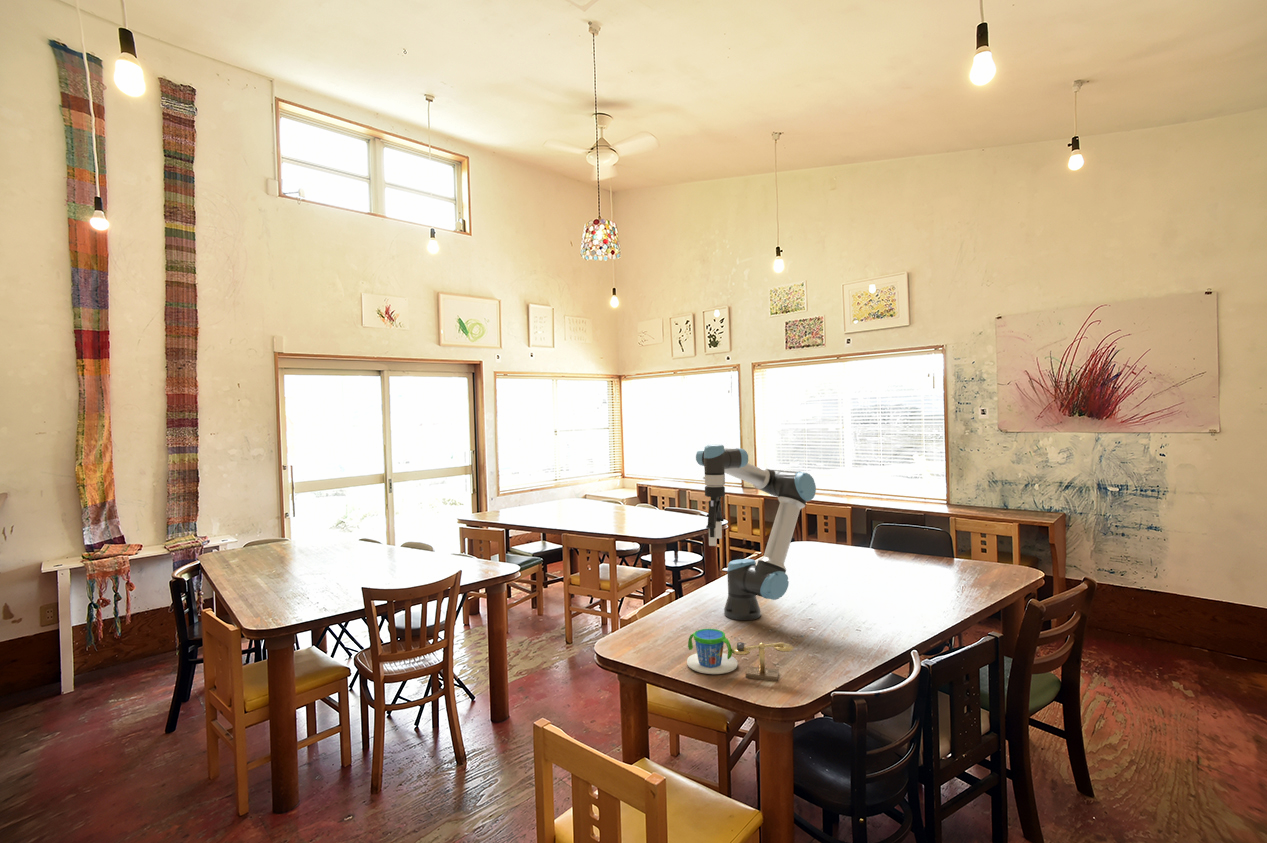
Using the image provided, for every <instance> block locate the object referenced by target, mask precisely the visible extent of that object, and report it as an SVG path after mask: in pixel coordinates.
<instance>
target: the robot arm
mask: <svg viewBox="0 0 1267 843" xmlns="http://www.w3.org/2000/svg"><path fill="white" fill-rule="evenodd" d="M695 461H696V463H697V464H698V465H700V466H702V467H704V476H703V477H702V479H703V480H704V485H705V487H704V496H705V497H708V498H710V500H709V501H708V513H707V525H706V529H708V546H709V547H717V539H720V540H721V539H723V525H722V524H723V522H724V521H725V520H724V516H723V508H722V498H723V497H725V495H726V487H725V484H726V478H725V477H726V476H725V474H726V475H729V476H731V477H734V478H737V479H739V480H742V481H744V482H747V483H748V484H750V485H752V486H753V487H754V488H755V489H757V490H759V491H762V492H765V493H766V494H769V495H771V496H774V497H776V498H777V500H778V502H779V505H778V508H777V512H776V514H775V518H774V521H773V524H772V527H771V530H770V534H769V538H768V540H767V543H766V547H765V550H764V553H763V556H762V557H761V558H760V559H758V561H757V562H756V560H755V559H753V558H752V559H751V558H742V559H741V558H740V559H733V560H731V561H729V562H728V564H727V571H726V572H727V598H726V601H725V605H724V609H723V610H724V611H723V612H724V613H723V614H724V616H726V618H727V619H728V618H729V619H731V620H737V621H753V620H756V619H759V618H760V617H761V615H762V614H761V607H760V604H759V602H758V598H757V597H761V598H764V599H765V600H773V601H776V600H778V599H780V598H782V597H783V596H784V595H785V594H786V593H787V591H788V588H789V584H790V583H789V582H790V581H789V577H788V574H787V573H786V572H787V567H786V566H785V561H786V558H787V555H788V552H789V548H790V546H791V545H790V544H791V541H792V539H793V535H794V532H795V528H796V526H797V525H796V524H797V522H798V519H799V518H798V517H799V515H800V511H801V510H802V509H804V508H805V507H806V504H807V502H810V501H812V500H813V499H814V498H815V495H816V492H817V490H816V489H817V486H816V483H815V479H814V477H813V476H812V475H811V474H810V473H807V472H802V471H794V470H793V471H791V470H781V469H780V470H779V469H778V470H777V469H769V468H767V467H758V466H756V465H753V464H751V463H749V453H748V452H747V450H745V449H744V448H739V447H738V448H737V447H736V448H725V446H724V445H723V444H706V445H705V446H704V447H700V448H699V449H698V450H697V451H696V454H695Z"/></svg>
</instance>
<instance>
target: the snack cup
mask: <svg viewBox="0 0 1267 843" xmlns="http://www.w3.org/2000/svg"><path fill="white" fill-rule="evenodd" d="M693 640H694V641H695V648H696V653H697V655H698V661H699V663H700V665H701V666H704V667H709V668H712V667H717V666H720V665H721V661H722V654H723V653H724V644H726V648H727V654H728V656H727V658H728V659H729V658H731V656H733V653H732V651H731V649H732V648H733V647H732V645H731V642H730V641H729V638H727V637H726V633H725V632H724V631H722V630H720V629H716V628H702V629H697V630H696V631H694V632H693V633H692V634H690V636H689V638H688V642H687V648H688V650H689V651H692V650H693V648H694V646H693Z"/></svg>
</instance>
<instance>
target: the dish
mask: <svg viewBox="0 0 1267 843" xmlns="http://www.w3.org/2000/svg"><path fill="white" fill-rule="evenodd" d="M727 656H728V653H724V652H723V654H722V661H721V665H720V666H717V667H712V668H709V667H704V666H701V665H700V663H699V661H698V655H697V652H695V653H694V654H691V655H690V656H688V657H687V660H686V664H687V666H688V668H689V669H691V670H692V671H695V672H698V673H701V674H707V675H721V674H727V673H731V672H733V671H735V670H736V669H737V668H738V663H739V662H738V660H737V659H736V657H734V656H733V655H732V656H731V658H729V659H728V658H727Z"/></svg>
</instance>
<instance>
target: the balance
mask: <svg viewBox="0 0 1267 843" xmlns="http://www.w3.org/2000/svg"><path fill="white" fill-rule="evenodd" d="M772 647H773V649H774V650H775V651H776V652H777V651H778V652H780V653H781V652H782V653H789V652H792V651H793V650H794V646H793V645H792V644H789V643H786V642H784V641H782V642H781V641H780V642H773V643H766V644H765V643H764V642H759V643H758V644H756V645H748V646H745V643H744V642H741V641H740V642H737V643H736V646H734V647H731V648H732V649H731V651H732V655H733V654H734V655H736V656H747V655H749V654H750V653H751V650H756V649H758V663H759V664H758V666H750V665H748V666H747V667H746V672H745V678H747V679H756V680H757V679H758V680H764V681H765V680H766V681H767V680H768V681H769V680H770V681H776V682H777V681H778V679H779V669H777V668H769V667H766V658H765V657H766V652H765V651H766V648H772Z"/></svg>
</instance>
